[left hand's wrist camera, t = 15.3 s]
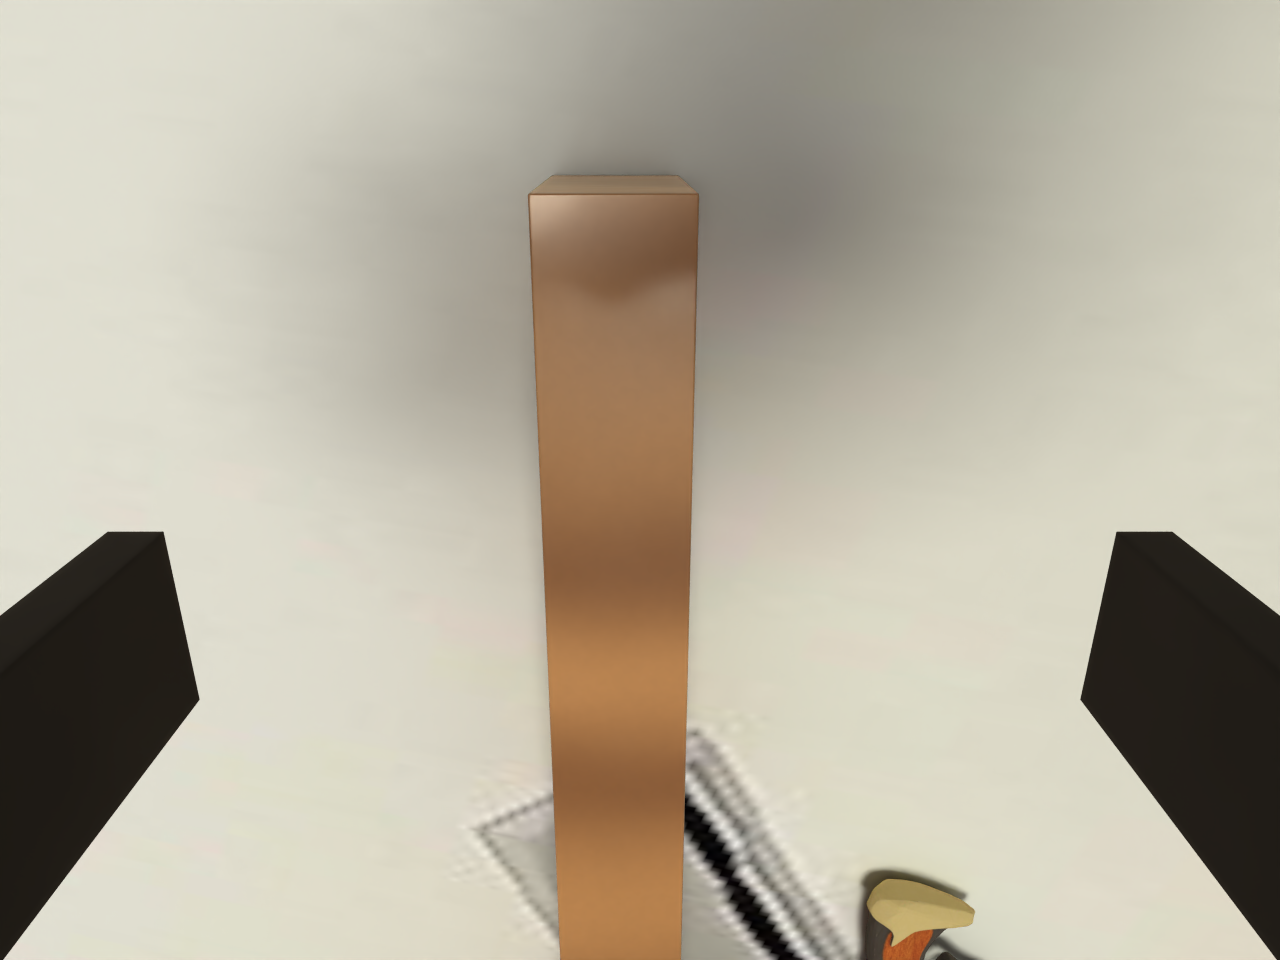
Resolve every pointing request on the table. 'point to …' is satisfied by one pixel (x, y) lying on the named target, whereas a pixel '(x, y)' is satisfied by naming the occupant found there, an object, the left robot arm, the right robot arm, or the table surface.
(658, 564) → the beam
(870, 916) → the toy gun
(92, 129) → the table surface
